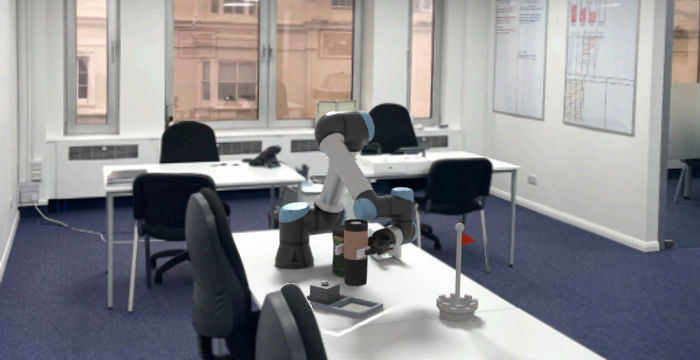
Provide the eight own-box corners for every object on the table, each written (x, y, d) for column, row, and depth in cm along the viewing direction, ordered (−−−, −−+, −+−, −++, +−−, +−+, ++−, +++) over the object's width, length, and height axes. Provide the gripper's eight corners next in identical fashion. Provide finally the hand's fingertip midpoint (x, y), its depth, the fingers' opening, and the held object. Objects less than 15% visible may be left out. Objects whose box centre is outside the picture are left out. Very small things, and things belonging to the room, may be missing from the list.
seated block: (309, 302, 265) (309, 282, 264) (322, 297, 271) (322, 277, 270) (327, 306, 261) (327, 285, 260) (339, 301, 267) (339, 280, 266)
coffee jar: (361, 275, 300) (362, 226, 297) (344, 279, 295) (345, 229, 292) (344, 269, 308) (345, 221, 305) (328, 273, 303) (328, 224, 300)
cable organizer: (402, 261, 321) (403, 232, 319) (376, 262, 319) (377, 233, 317) (391, 251, 335) (391, 224, 334) (366, 253, 333) (366, 225, 331)
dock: (296, 306, 265) (296, 298, 264) (320, 296, 275) (321, 289, 275) (360, 321, 250) (360, 314, 250) (383, 310, 261) (383, 303, 261)
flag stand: (431, 319, 254) (434, 225, 249) (441, 306, 266) (444, 217, 261) (472, 324, 249) (476, 229, 244) (481, 311, 261) (485, 220, 256)
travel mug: (342, 280, 261) (343, 219, 258) (366, 279, 262) (367, 218, 259) (344, 286, 254) (344, 224, 250) (368, 286, 254) (369, 224, 251)
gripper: (412, 254, 265) (374, 269, 247) (361, 245, 277) (320, 259, 258) (413, 232, 264) (374, 245, 246) (361, 223, 276) (320, 236, 257)
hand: (346, 252), depth 252 cm, fingers closed on travel mug, 7 cm apart
